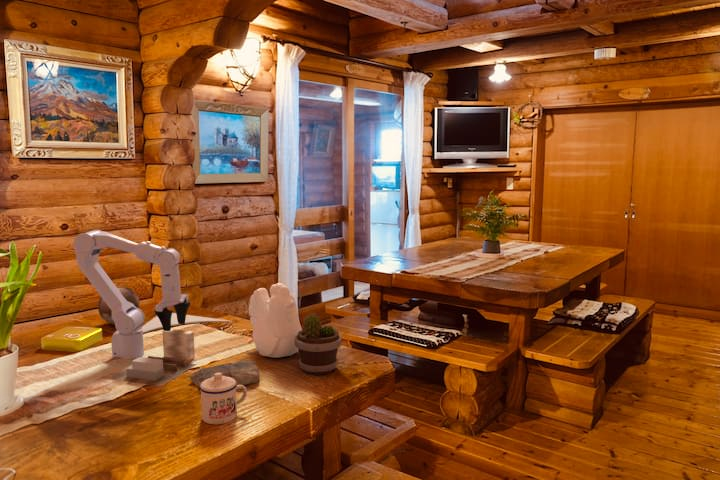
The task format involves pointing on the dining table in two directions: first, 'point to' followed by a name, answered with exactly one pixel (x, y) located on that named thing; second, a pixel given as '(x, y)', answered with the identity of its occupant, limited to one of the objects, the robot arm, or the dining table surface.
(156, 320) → the corner molding
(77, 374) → the dining table surface
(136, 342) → the robot arm
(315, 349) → the flowerpot
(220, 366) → the clay tablet
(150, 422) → the dining table surface
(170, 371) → the walnut rack
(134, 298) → the wooden sphere
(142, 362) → the upper offcut
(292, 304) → the white sculpture
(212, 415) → the teacup with lid
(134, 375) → the block
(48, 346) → the element tile
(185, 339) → the brown rectangular block
